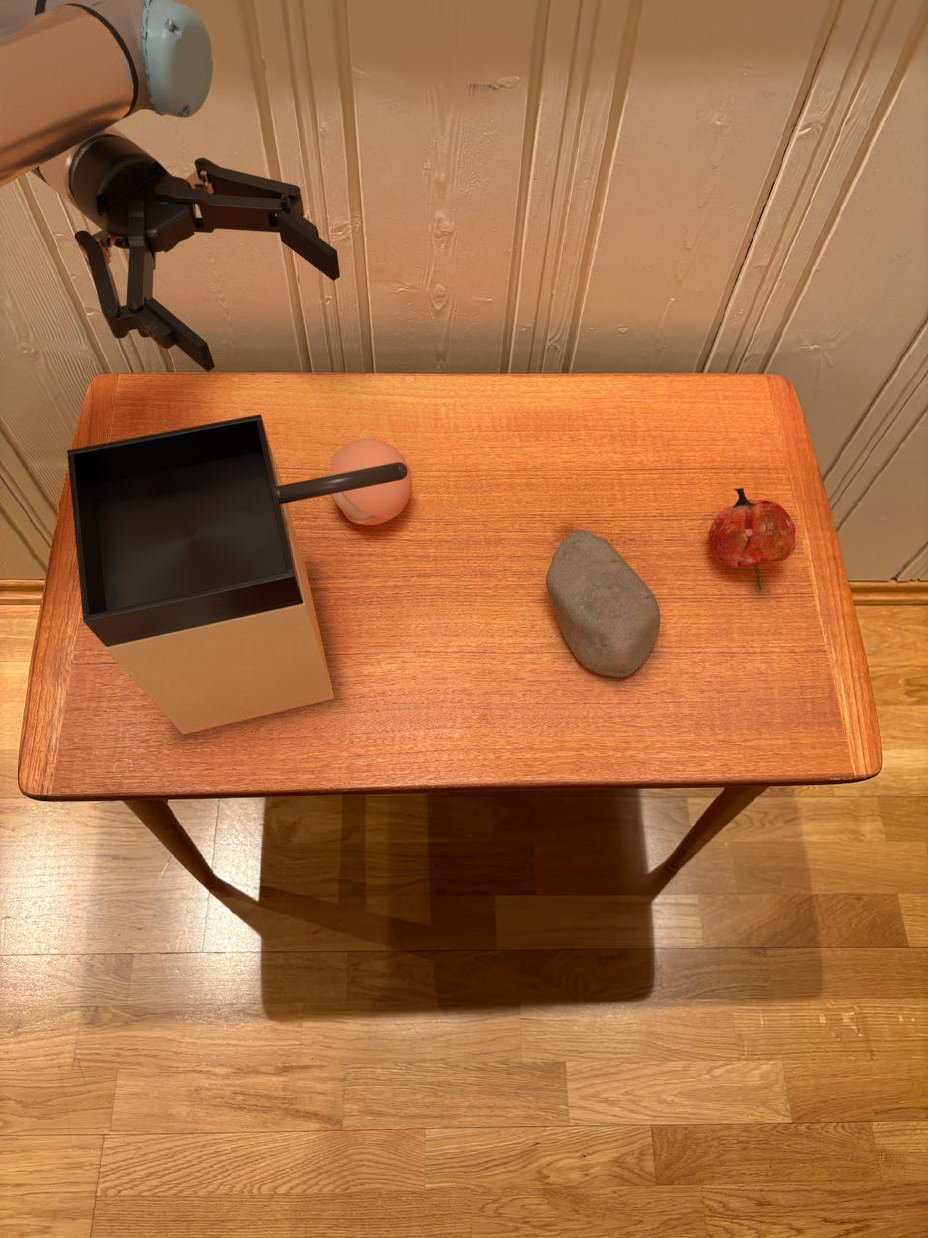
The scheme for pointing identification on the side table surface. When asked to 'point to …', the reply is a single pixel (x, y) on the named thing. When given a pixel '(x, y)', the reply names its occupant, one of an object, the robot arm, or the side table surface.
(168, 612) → the pan
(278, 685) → the stand
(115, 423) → the side table surface
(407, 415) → the side table surface
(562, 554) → the stone
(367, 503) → the toy ball
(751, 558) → the pomegranate
